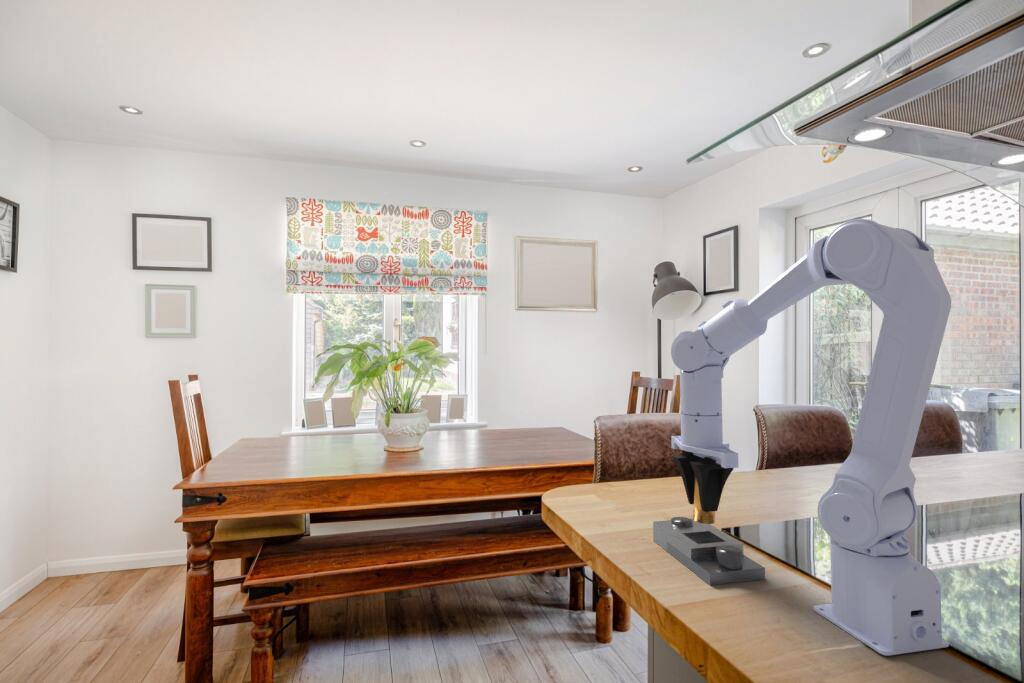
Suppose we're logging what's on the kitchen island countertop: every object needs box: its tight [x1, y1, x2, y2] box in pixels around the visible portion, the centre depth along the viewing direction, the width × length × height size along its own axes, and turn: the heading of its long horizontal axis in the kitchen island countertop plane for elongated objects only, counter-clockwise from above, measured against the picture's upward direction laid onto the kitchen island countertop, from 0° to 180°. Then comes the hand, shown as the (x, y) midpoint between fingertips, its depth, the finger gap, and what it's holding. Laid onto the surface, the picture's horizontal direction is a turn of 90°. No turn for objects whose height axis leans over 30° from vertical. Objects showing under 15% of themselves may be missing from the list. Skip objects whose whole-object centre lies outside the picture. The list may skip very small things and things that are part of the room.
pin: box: [692, 473, 716, 525], centre depth 75 cm, size 3×3×7 cm
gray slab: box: [652, 516, 766, 586], centre depth 75 cm, size 16×8×4 cm, turn 11°
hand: (702, 507), depth 75 cm, fingers closed on pin, 3 cm apart
